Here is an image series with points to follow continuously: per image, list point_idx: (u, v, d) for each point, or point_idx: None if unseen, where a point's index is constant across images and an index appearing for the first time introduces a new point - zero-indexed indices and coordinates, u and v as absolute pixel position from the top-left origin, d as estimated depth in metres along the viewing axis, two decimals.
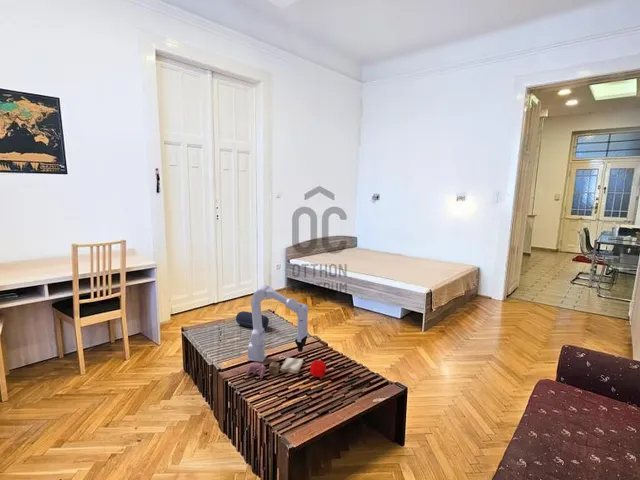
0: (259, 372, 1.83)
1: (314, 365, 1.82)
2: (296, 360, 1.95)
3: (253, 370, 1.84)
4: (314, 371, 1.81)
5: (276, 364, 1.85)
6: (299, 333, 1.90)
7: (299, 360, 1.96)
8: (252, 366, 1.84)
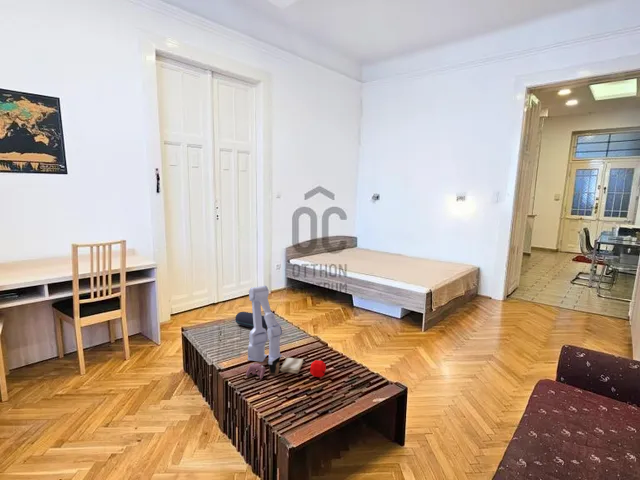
0: (259, 373, 1.83)
1: (314, 365, 1.82)
2: (296, 360, 1.95)
3: (253, 371, 1.84)
4: (314, 371, 1.81)
5: None
6: (271, 355, 1.82)
7: (299, 360, 1.96)
8: (252, 367, 1.83)
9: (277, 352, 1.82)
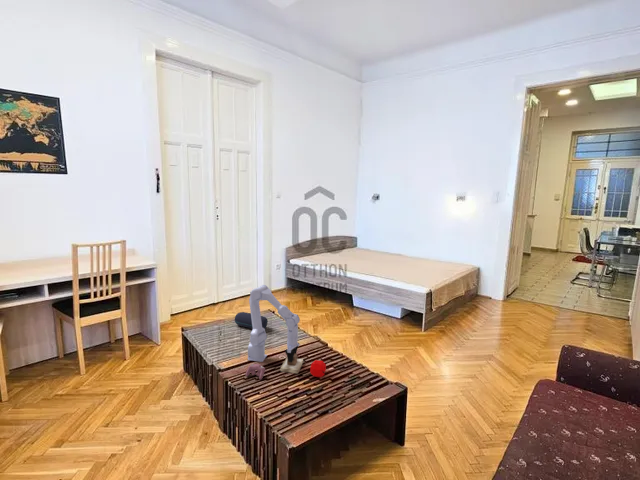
0: (258, 373, 1.82)
1: (314, 365, 1.82)
2: None
3: (252, 371, 1.83)
4: (314, 371, 1.81)
5: (294, 355, 1.91)
6: (289, 343, 1.88)
7: (299, 360, 1.96)
8: (251, 367, 1.83)
9: (295, 341, 1.88)
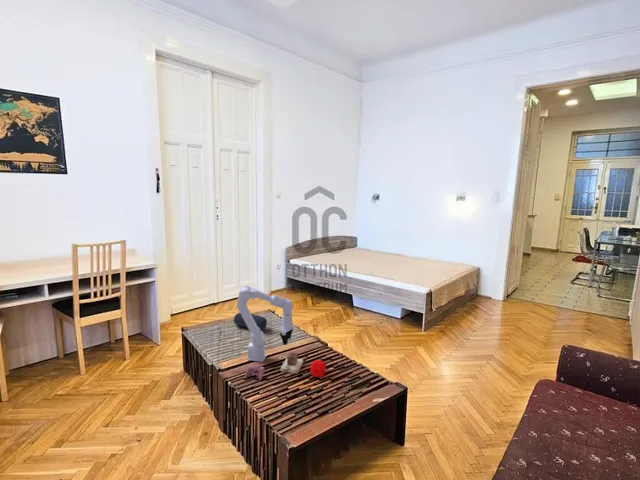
0: (258, 374, 1.81)
1: (314, 365, 1.82)
2: None
3: (252, 372, 1.83)
4: (314, 371, 1.81)
5: (294, 355, 1.91)
6: (284, 327, 1.98)
7: (299, 360, 1.96)
8: (251, 368, 1.82)
9: (290, 324, 1.98)
